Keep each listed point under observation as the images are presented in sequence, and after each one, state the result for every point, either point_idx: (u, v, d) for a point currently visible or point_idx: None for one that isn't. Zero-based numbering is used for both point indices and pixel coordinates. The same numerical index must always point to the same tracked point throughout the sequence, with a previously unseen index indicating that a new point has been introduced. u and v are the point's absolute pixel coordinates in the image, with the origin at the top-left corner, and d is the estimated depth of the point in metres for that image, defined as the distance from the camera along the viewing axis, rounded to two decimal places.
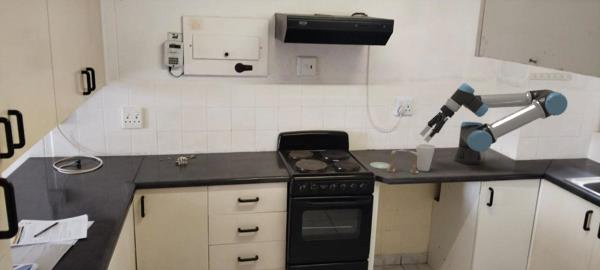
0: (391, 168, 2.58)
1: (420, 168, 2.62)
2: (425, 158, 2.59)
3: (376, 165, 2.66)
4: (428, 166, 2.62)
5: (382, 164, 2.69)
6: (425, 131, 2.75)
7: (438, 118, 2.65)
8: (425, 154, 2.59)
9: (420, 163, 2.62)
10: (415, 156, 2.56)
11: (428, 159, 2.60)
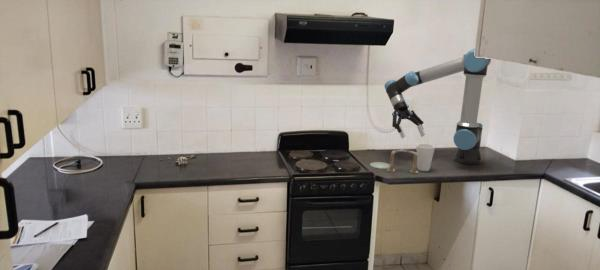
0: (391, 168, 2.58)
1: (420, 168, 2.62)
2: (425, 158, 2.59)
3: (376, 165, 2.66)
4: (428, 166, 2.62)
5: (382, 164, 2.69)
6: (420, 130, 2.75)
7: None
8: (425, 154, 2.59)
9: (420, 163, 2.62)
10: (415, 156, 2.56)
11: (428, 159, 2.60)
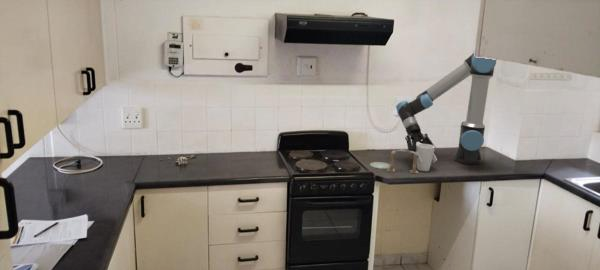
0: (391, 168, 2.58)
1: (420, 168, 2.62)
2: (425, 158, 2.59)
3: (376, 165, 2.66)
4: (428, 166, 2.62)
5: (382, 164, 2.69)
6: None
7: None
8: (425, 154, 2.59)
9: None
10: (415, 156, 2.56)
11: (428, 159, 2.60)
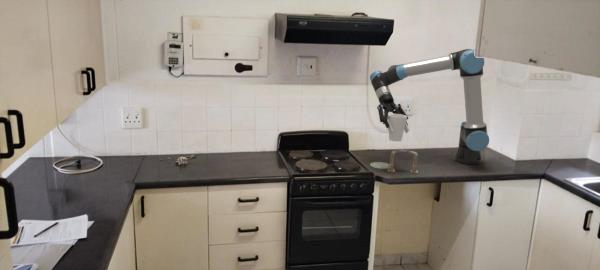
0: (391, 168, 2.58)
1: (391, 138, 2.55)
2: (396, 128, 2.52)
3: (376, 165, 2.66)
4: (400, 136, 2.54)
5: (382, 164, 2.69)
6: (405, 126, 2.57)
7: None
8: (396, 123, 2.51)
9: None
10: (415, 156, 2.56)
11: (400, 129, 2.52)
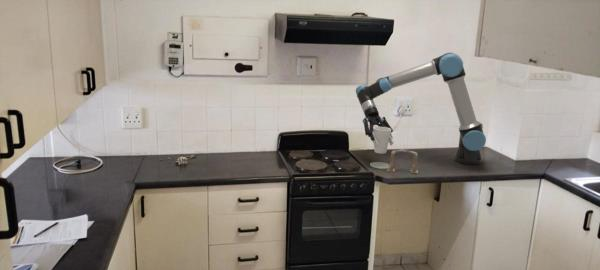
0: (391, 168, 2.58)
1: (377, 151, 2.64)
2: (381, 140, 2.61)
3: (376, 165, 2.66)
4: (384, 149, 2.63)
5: (382, 164, 2.69)
6: (389, 139, 2.66)
7: None
8: (381, 136, 2.60)
9: (376, 146, 2.63)
10: (415, 156, 2.56)
11: (384, 141, 2.61)
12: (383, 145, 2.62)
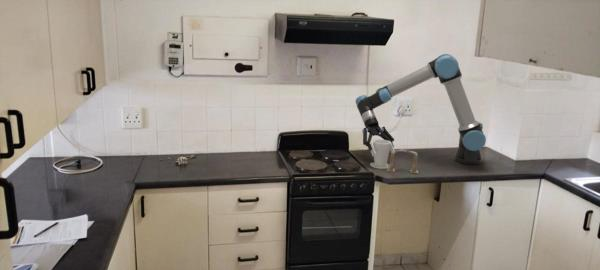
0: (391, 168, 2.58)
1: (377, 164, 2.65)
2: (381, 154, 2.62)
3: None
4: (384, 162, 2.64)
5: None
6: (391, 148, 2.68)
7: None
8: (381, 150, 2.61)
9: (377, 159, 2.64)
10: (415, 156, 2.56)
11: (384, 155, 2.63)
12: (383, 158, 2.63)
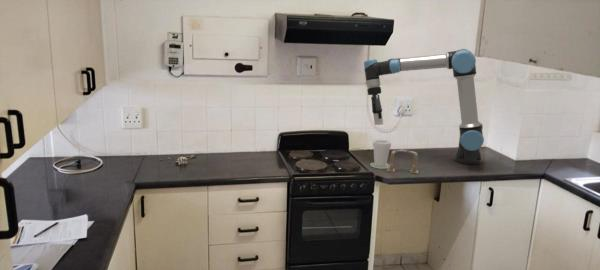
0: (391, 168, 2.58)
1: (377, 164, 2.65)
2: (381, 154, 2.62)
3: None
4: (384, 162, 2.64)
5: None
6: (376, 119, 2.83)
7: (373, 101, 2.75)
8: (381, 150, 2.62)
9: (376, 159, 2.64)
10: (415, 156, 2.56)
11: (384, 155, 2.63)
12: (383, 158, 2.63)
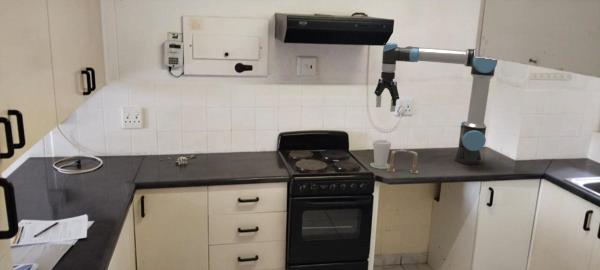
0: (391, 168, 2.58)
1: (377, 164, 2.65)
2: (381, 154, 2.62)
3: None
4: (384, 162, 2.64)
5: None
6: (379, 102, 2.81)
7: (387, 86, 2.70)
8: (381, 150, 2.62)
9: (376, 159, 2.64)
10: (415, 156, 2.56)
11: (384, 155, 2.63)
12: (383, 158, 2.63)
